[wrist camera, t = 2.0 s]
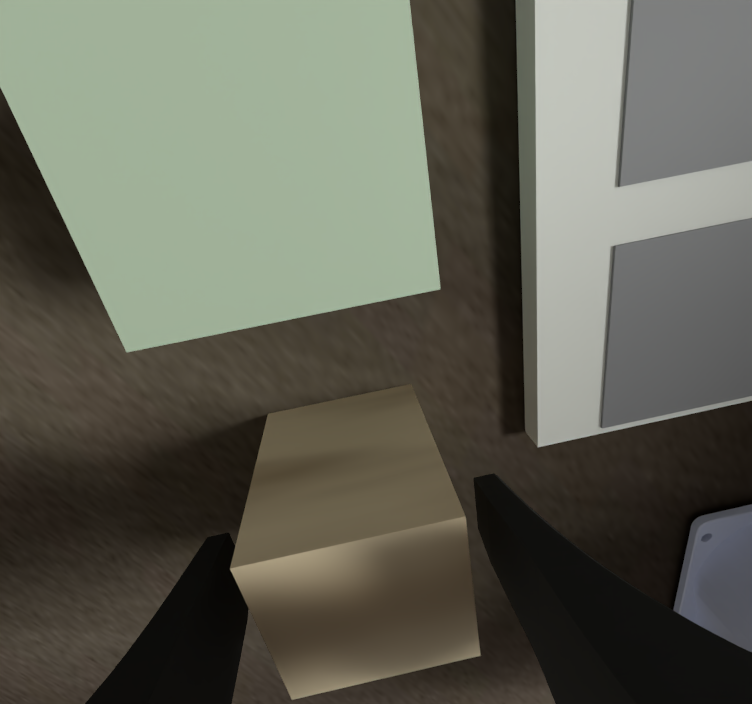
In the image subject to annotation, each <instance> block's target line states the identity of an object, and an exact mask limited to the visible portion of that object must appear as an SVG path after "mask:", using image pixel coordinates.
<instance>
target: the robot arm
mask: <svg viewBox="0 0 752 704" xmlns="http://www.w3.org/2000/svg"><path fill="white" fill-rule="evenodd" d="M474 488H475V499H476V510H477V521H478V529H479V532H480V535H481V537H482V540H483V543H484V546H485V548H486V551H487V554H488V556H489V559H490V562H491V564H492V566H493V568H494V570H495V572H496V574H497V576H498V578H499V580H500V582H501V585H502V587H503V589H504V591H505V593H506V595H507V597H508V599H509V601H510V603H511V605H512V607H513V609H514V611H515V613H516V615H517V617H518V619H519V621H520V623H521V625H522V627H523V629H524V631H525V633H526V635H527V637H528V639H529V641H530V643H531V645H532V647H533V650H534V652H535V654H536V656H537V659H538V661H539V663H540V665H541V668H542V670H543V673H544V675H545V678H546V680H547V683H548V685H549V688H550V690H551V693H552V695H553V698H554V700H555V703H556V704H752V504H750V505H746V506H742V507H737V508H733V509H728V510H724V511H720V512H715V513H711V514H707V515H702V516H700V517H698V518H696V519H695V520H694V521H693V522H692V524H691V529H690V533H689V538H688V543H687V548H686V552H685V557H684V562H683V566H682V571H681V576H680V581H679V585H678V590H677V595H676V600H675V604H674V609H673V610H672V609H670V608H668V607H667V606H665V605H663V604H661V603H660V602H658V601H656V600H655V599H653V598H651V597H649V596H648V595H646V594H645V593H643V592H642V591H640V590H638V589H637V588H635V587H634V586H632V585H631V584H629V583H628V582H626V581H624V580H623V579H621V578H620V577H619V576H617V575H616V574H614V573H613V572H611V571H610V570H608V569H607V568H605V567H604V566H603V565H601V564H600V563H598V562H597V561H596V560H594V559H593V558H592V557H590V556H589V555H587V554H586V553H585V552H583V551H582V550H581V549H580V548H578V547H577V546H576V545H574V544H573V543H572V542H571V541H569V540H568V539H567V538H566V537H564V536H563V535H562V534H561V533H559V532H558V531H557V530H556V529H555V528H553V527H552V526H551V525H550V524H549V523H548V522H546V521H545V520H544V519H543V518H542V517H541V516H539V515H538V514H537V513H536V512H535V511H534V510H533V509H531V508H530V507H529V506H528V505H527V504H526V503H525V502H524V501H523V500H522V499H521V498H520V497H518V496H517V495H516V494H515V493H514V492H513V491H512V490H511V489H510V488H509V487H508V486H507V485H506V484H505V483H504V482H503V481H502V480H501V479H500V478H499V477H498V476H497V475H495V474H489V475H485V476H480V477H476V478H474ZM234 550H235V545H234V543H233V541H232V539H231V536H230V534H229V533H225V534H220V535H216V536H211V537H208V538H207V539H206V540H205V542H204V543H203V545H202V546H201V548H200V549H199V551H198V552H197V554H196V555H195V557H194V558H193V559H192V561H191V563H190V564H189V566H188V567H187V569H186V570H185V572H184V573H183V574H182V576H181V577H180V579H179V580H178V582H177V583H176V585H175V586H174V588H173V589H172V591H171V592H170V594H169V595H168V597H167V598H166V599H165V601H164V602H163V604H162V605H161V607H160V608H159V610H158V611H157V612H156V614H155V615H154V617H153V618H152V620H151V621H150V622H149V624H148V625H147V626H146V628H145V629H144V630H143V632H142V633H141V634H140V636H139V637H138V638H137V640H136V641H135V642H134V644H133V645H132V646H131V648H130V649H129V651H128V652H127V653H126V655H125V656H124V657H123V658H122V660H121V661H120V662H119V664H118V665H117V666H116V667H115V669H114V670H113V671H112V672H111V674H110V675H109V676H108V677H107V678H106V680H105V681H104V682H103V683H102V684H101V686H100V687H99V688H98V689H97V690H96V692H95V693H94V694H93V695H92V696H91V697H90V699H89V700H88V701H87V702H86V703H85V704H231V703H232V698H233V692H234V687H235V682H236V677H237V672H238V667H239V662H240V657H241V651H242V646H243V641H244V635H245V630H246V624H247V618H248V606H247V604H246V602H245V599H244V597H243V595H242V593H241V591H240V589H239V587H238V585H237V583H236V580H235V578H234V576H233V574H232V572H231V570H230V566H231V562H232V558H233V554H234Z"/></svg>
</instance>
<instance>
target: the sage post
mask: <svg viewBox="0 0 752 704" xmlns="http://www.w3.org/2000/svg"><path fill="white" fill-rule="evenodd" d="M0 87H1V90H2V92H3V94H4V96H5V98H6V100H7V102H8V104H9V106H10V108H11V111H12V113H13V115H14V117H15V119H16V121H17V123H18V125H19V127H20V129H21V132H22V134H23V136H24V138H25V140H26V142H27V144H28V146H29V148H30V150H31V153H32V155H33V157H34V159H35V161H36V163H37V165H38V167H39V169H40V171H41V174H42V176H43V178H44V180H45V182H46V184H47V186H48V188H49V190H50V192H51V195H52V197H53V199H54V201H55V203H56V205H57V207H58V209H59V211H60V213H61V216H62V218H63V220H64V222H65V224H66V226H67V228H68V230H69V232H70V234H71V237H72V239H73V241H74V243H75V245H76V247H77V249H78V251H79V253H80V255H81V258H82V260H83V262H84V264H85V266H86V268H87V270H88V272H89V274H90V276H91V279H92V281H93V283H94V285H95V287H96V289H97V291H98V293H99V295H100V297H101V300H102V302H103V304H104V306H105V308H106V310H107V312H108V314H109V316H110V318H111V321H112V323H113V325H114V327H115V329H116V331H117V333H118V335H119V337H120V339H121V342H122V344H123V346H124V348H125V350H126V352H131V351H136V350H141V349H146V348H151V347H156V346H161V345H166V344H171V343H176V342H181V341H186V340H191V339H196V338H201V337H206V336H211V335H215V334H220V333H225V332H230V331H235V330H240V329H245V328H250V327H255V326H260V325H265V324H270V323H275V322H280V321H285V320H290V319H295V318H300V317H305V316H310V315H315V314H320V313H325V312H330V311H335V310H340V309H345V308H350V307H354V306H359V305H364V304H369V303H374V302H379V301H384V300H389V299H394V298H399V297H404V296H409V295H414V294H419V293H424V292H429V291H434V290H439V289H441V288H440V279H439V270H438V261H437V251H436V242H435V233H434V223H433V214H432V205H431V196H430V186H429V177H428V168H427V158H426V149H425V140H424V131H423V121H422V112H421V103H420V93H419V84H418V75H417V66H416V56H415V47H414V38H413V29H412V19H411V10H410V1H409V0H0Z"/></svg>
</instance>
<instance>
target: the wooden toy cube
mask: <svg viewBox="0 0 752 704" xmlns="http://www.w3.org/2000/svg"><path fill="white" fill-rule="evenodd" d="M230 570H231V572H232V574H233V576H234V578H235V580H236V583H237V585H238V587H239V589H240V591H241V593H242V595H243V597H244V599H245V602H246V604H247V606H248V608H249V610H250V612H251V614H252V616H253V619H254V621H255V623H256V625H257V627H258V629H259V631H260V633H261V635H262V638H263V640H264V642H265V644H266V646H267V648H268V650H269V652H270V654H271V657H272V659H273V661H274V663H275V665H276V667H277V669H278V671H279V673H280V676H281V678H282V680H283V682H284V684H285V686H286V688H287V690H288V692H289V695H290V697H291V699H292V700H294V699H298V698H302V697H306V696H311V695H315V694H319V693H323V692H328V691H332V690H336V689H341V688H345V687H349V686H353V685H358V684H362V683H366V682H370V681H375V680H379V679H383V678H388V677H392V676H396V675H400V674H405V673H409V672H413V671H417V670H422V669H426V668H430V667H435V666H439V665H443V664H447V663H452V662H456V661H460V660H464V659H469V658H473V657H477V656H481V655H480V645H479V636H478V627H477V618H476V608H475V599H474V590H473V581H472V571H471V562H470V553H469V543H468V534H467V525H466V516H465V514H464V511H463V509H462V507H461V504H460V502H459V499H458V497H457V494H456V492H455V490H454V487H453V485H452V482H451V480H450V477H449V475H448V472H447V470H446V468H445V465H444V463H443V460H442V458H441V455H440V453H439V451H438V448H437V446H436V443H435V441H434V438H433V436H432V434H431V431H430V429H429V426H428V424H427V421H426V419H425V417H424V414H423V412H422V409H421V407H420V404H419V402H418V400H417V397H416V395H415V392H414V390H413V387H412V385H411V384H408V385H403V386H399V387H394V388H389V389H384V390H379V391H375V392H370V393H365V394H360V395H356V396H351V397H346V398H341V399H337V400H332V401H327V402H322V403H317V404H313V405H308V406H303V407H298V408H294V409H289V410H284V411H279V412H274V413H270V414H268V416H267V420H266V424H265V428H264V432H263V436H262V440H261V444H260V448H259V452H258V456H257V461H256V465H255V469H254V473H253V477H252V481H251V485H250V489H249V493H248V497H247V501H246V505H245V509H244V513H243V518H242V522H241V526H240V530H239V534H238V538H237V542H236V546H235V550H234V554H233V558H232V562H231V566H230Z"/></svg>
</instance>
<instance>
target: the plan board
mask: <svg viewBox="0 0 752 704" xmlns="http://www.w3.org/2000/svg"><path fill="white" fill-rule="evenodd" d="M516 44H517V89H518V134H519V179H520V223H521V268H522V313H523V358H524V403H525V432H526V433H527V434H528V435H529V437H530V438H531V439H532V441H533V442H534V443H535V444H536V446H537V447H542V446H546V445H551V444H556V443H560V442H565V441H569V440H574V439H578V438H583V437H588V436H592V435H597V434H601V433H606V432H610V431H615V430H620V429H624V428H629V427H633V426H638V425H643V424H647V423H652V422H656V421H661V420H665V419H670V418H675V417H679V416H684V415H688V414H693V413H697V412H702V411H707V410H711V409H716V408H720V407H725V406H730V405H734V404H739V403H743V402H748V401H752V0H516Z"/></svg>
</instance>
